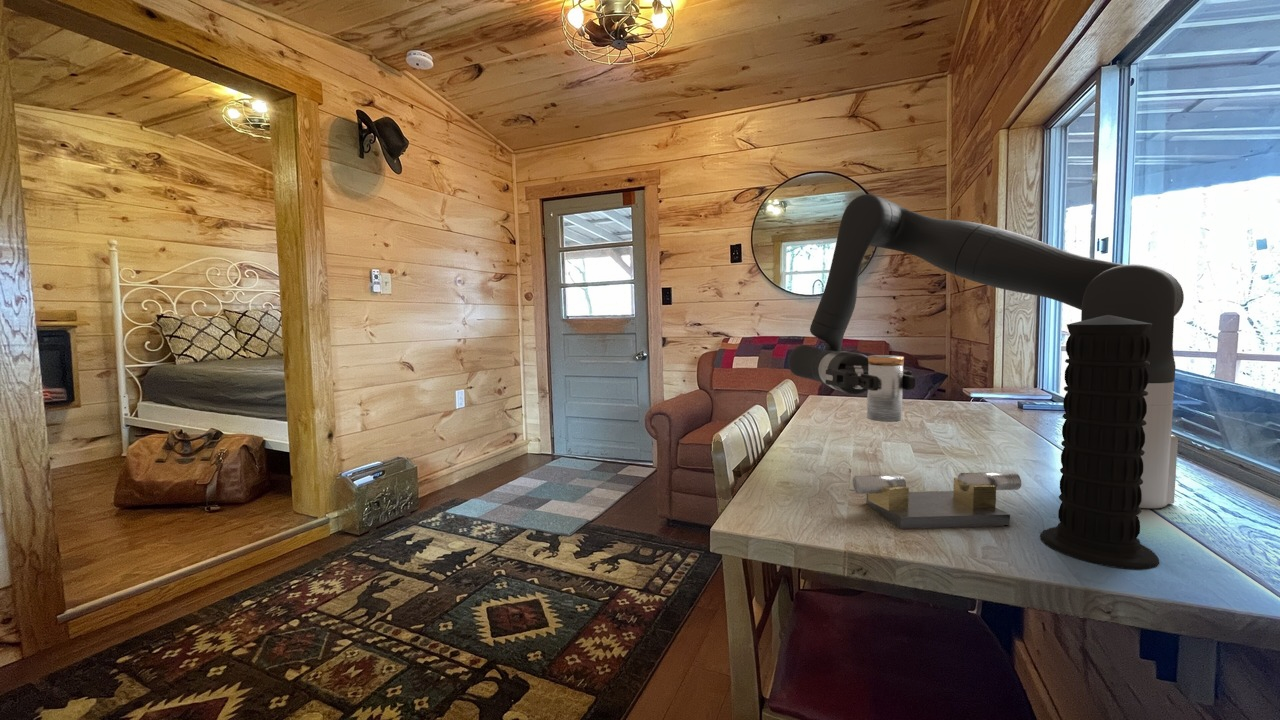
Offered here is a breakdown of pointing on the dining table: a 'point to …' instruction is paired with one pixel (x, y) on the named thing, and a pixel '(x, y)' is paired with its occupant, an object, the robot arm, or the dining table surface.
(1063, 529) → the handle grip
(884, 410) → the grey cylinder
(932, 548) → the dining table surface
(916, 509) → the metal mounting fixture
